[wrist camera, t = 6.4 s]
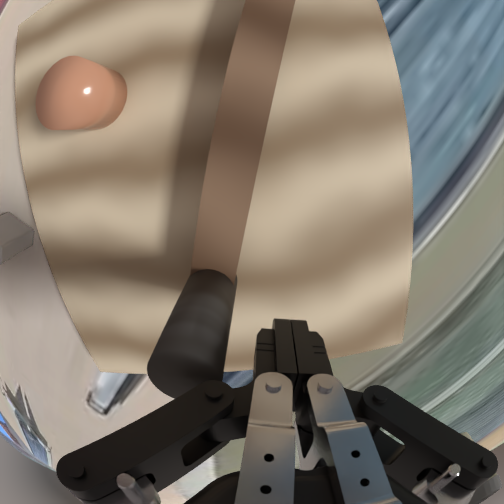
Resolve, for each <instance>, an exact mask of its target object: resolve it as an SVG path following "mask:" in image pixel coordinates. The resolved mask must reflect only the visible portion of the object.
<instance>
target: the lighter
mask: <svg viewBox="0 0 504 504" xmlns="http://www.w3.org/2000/svg"><path fill="white" fill-rule="evenodd" d="M33 236H34V230H33V229H32V228H31V227H29V226H28V225H27V224H25V223H24V222H22V221H21V220H19V219H18V218H17V217H15V216H14V215H13V214H11V213H10V212H7V213H5V214H3V215H0V265H1V264H2V263H4V262H6V261H7V260H9V259H10V258H12V257H13V256H15V255H17V254H18V253H20V252H22V251H23V250H25V249H27V248H28V247H30V246H32V244H33Z"/></svg>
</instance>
